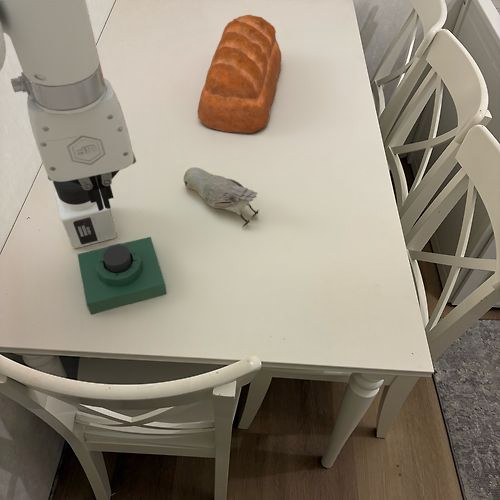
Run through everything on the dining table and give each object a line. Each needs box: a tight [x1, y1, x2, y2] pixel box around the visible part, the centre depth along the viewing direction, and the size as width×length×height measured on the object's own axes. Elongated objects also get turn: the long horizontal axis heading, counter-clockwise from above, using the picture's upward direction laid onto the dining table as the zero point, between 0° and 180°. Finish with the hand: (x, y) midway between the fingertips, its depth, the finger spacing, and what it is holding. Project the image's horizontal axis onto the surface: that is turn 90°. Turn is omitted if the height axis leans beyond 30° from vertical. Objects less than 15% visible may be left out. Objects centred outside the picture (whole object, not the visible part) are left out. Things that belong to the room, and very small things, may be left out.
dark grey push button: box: [103, 244, 132, 273], centre depth 75 cm, size 4×4×2 cm
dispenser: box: [77, 236, 167, 315], centre depth 77 cm, size 12×10×5 cm
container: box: [52, 175, 118, 249], centre depth 80 cm, size 8×8×13 cm
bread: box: [197, 14, 283, 134], centre depth 108 cm, size 16×31×13 cm, turn 170°
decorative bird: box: [183, 167, 260, 230], centre depth 87 cm, size 5×16×8 cm, turn 55°
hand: (103, 202), depth 65 cm, fingers closed
